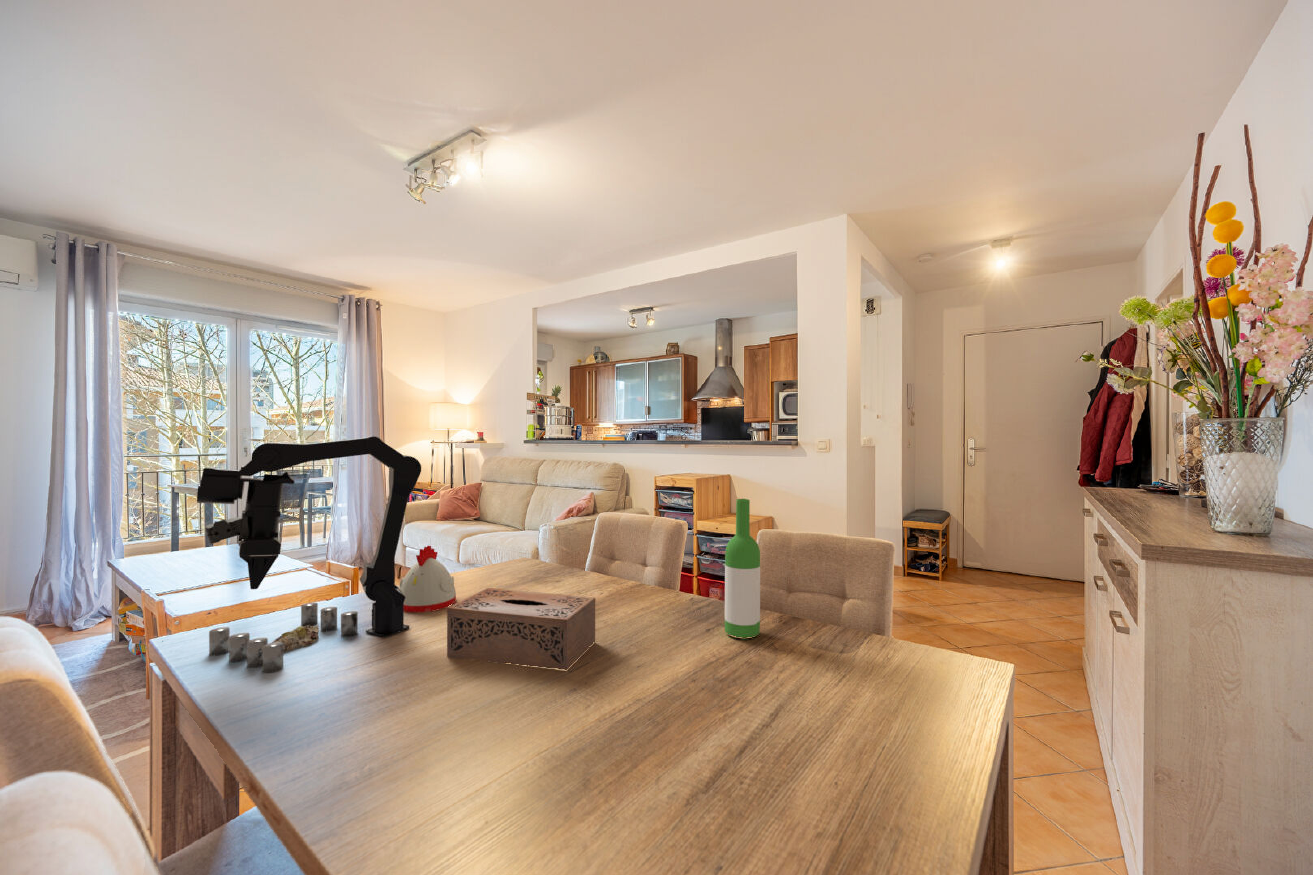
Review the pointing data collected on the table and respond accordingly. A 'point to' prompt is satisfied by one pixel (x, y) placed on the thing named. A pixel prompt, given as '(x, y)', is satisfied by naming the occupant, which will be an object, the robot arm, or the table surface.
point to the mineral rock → (298, 637)
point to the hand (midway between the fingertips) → (253, 583)
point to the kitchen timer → (427, 584)
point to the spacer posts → (272, 653)
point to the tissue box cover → (521, 628)
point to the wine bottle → (742, 578)
